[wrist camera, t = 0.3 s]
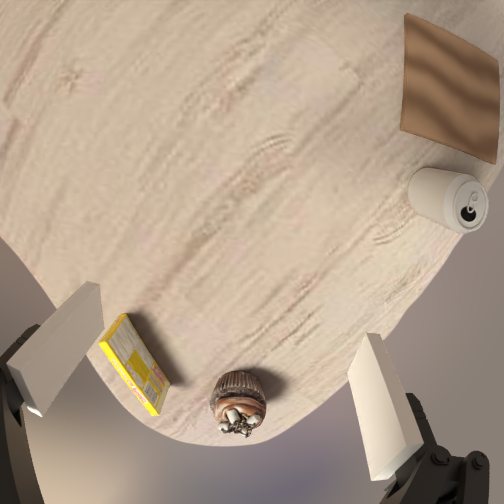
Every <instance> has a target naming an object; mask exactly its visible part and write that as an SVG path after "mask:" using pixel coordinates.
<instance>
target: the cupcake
mask: <svg viewBox="0 0 504 504" xmlns="http://www.w3.org/2000/svg"><path fill="white" fill-rule="evenodd" d="M209 403H210V404H209V405H210V408H211V410H212V411H213V413H214V417H215V419H216V421H217V422H218V423H219V425H218V429H219V430H220V431H223V432H224V433H230V432H233V431H234V433H241V435H242V436H245V438H247V437H249V436H250V434H251V431H252V429H255V428H257V427H258V426H260V425H261V423H262V422H263V420H264V418H265V414H266V399H265V396H264V394H263V391H262V388H261V384H260V382H259V380H258V379H257V378H256V377H255V376H254V375H252V374H250V373H248V372H243V371H231V372H228V373H225V374H224V375H222V376H221V378H219V380H218V382H217V384H216V387H215V389H214V391H213V393H212V395H211V397H210V402H209Z"/></svg>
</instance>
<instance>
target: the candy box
mask: <svg viewBox="0 0 504 504" xmlns="http://www.w3.org/2000/svg"><path fill="white" fill-rule="evenodd" d="M98 344H99V345H100V347H101V348H102V350H103V351H104V353H105V354H106V355H107V357H108V358H109V360H110V361H111V363H112V364H113V366H114V367H115V368H116V370H117V371H118V372H119V374H120V375H121V377H122V378H123V379H124V381H125V382H126V383H127V385H128V386H129V387H130V389H131V390H132V391H133V393H134V394H135V395H136V396H137V398H138V399H139V400H140V401H141V403H142V404H143V405H144V406H145V408H146V409H147V410H148V411H149V413H150V414H151V415H152V416H154V415H160V412H161V409H162V406H163V403H164V400H165V397H166V394H167V392H168V389H169V386H170V382H169V381H168V379H167V378H166V377H165V375H164V374H163V372H162V371H161V369H160V368H159V366H158V365H157V363H156V362H155V360H154V359H153V357H152V355H151V354H150V352H149V351H148V349H147V348H146V346H145V344H144V343H143V341H142V339H141V338H140V336H139V335H138V333H137V331H136V330H135V328H134V326H133V324H132V323H131V321H130V319H129V318H128V316H127V314H123V315H120V316H118V318H117V319H116V320H115V322H114V323H113V324H112V326H111V327H110V328H109V330H108V331H107V332H106V334H105V335H104V336H103V338H102V339H101V340H100V342H99V343H98Z"/></svg>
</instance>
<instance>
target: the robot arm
mask: <svg viewBox="0 0 504 504" xmlns="http://www.w3.org/2000/svg"><path fill="white" fill-rule="evenodd" d="M103 330H104V322H103V314H102V305H101V295H100V284H96V283H93V282H89V281H87V282H86V283H85V284H83V285H82V286H81V287H80V288H79V289H78V290H77V291H76V292H75V293H74V294H73V295H72V296H71V297H70V298H69V299H68V300H67V301H65V302H64V303H63V304H62V305H61V306H60V307H59V308H58V309H57V310H56V311H55V312H54V313H53V314H52V315H51V316H50V317H49V318H48V319H47V320H46V321H45V322H44V323H43V324H42V325H41V326H40V325H38V324H36V325H34V326H32V327H30V328H28V329H27V330H26V331H25V332H24V333H23V334H22V335H21V337H19V338H18V339H17V340H16V342H14V343H13V344H12V345H11V346H10V348H8V349H7V350H6V352H5V353H4V354H3V355H2V356H1V357H0V504H44V500H43V497H42V494H41V491H40V488H39V485H38V482H37V478H36V474H35V470H34V466H33V462H32V458H31V454H30V449H29V445H28V440H27V435H26V429H25V423H24V416H23V411H22V408H21V405H22V403H23V402H25V404H26V406H27V407H28V409H29V410H30V411H32V412H34V413H35V414H37V415H39V416H41V417H43V415H44V414H45V412H46V410H47V409H48V407H49V406H50V405H51V403H52V402H53V400H54V398H55V397H56V395H57V394H58V393H59V391H60V390H61V388H62V387H63V385H64V384H65V382H66V381H67V379H68V378H69V377H70V375H71V373H72V372H73V371H74V369H75V368H76V366H77V365H78V363H79V362H80V361H81V359H82V358H83V357H84V355H85V354H86V353H87V351H88V350H89V349H90V347H91V346H92V344H93V343H94V342H95V340H96V339H97V338H98V336H99V335H100V334H101V332H102V331H103ZM347 374H348V378H349V382H350V386H351V390H352V394H353V398H354V403H355V407H356V411H357V415H358V420H359V424H360V429H361V433H362V438H363V442H364V447H365V452H366V456H367V462H368V467H369V471H370V477H371V481H375V480H384V479H388V478H389V477H390V476H391V475H393V473H395V474H396V478H397V479H396V480H395V481H393V482H392V483H391V484H390V485H389V486H388V487H387V488H386V489H385V490H384V491H387V490H388V489H389V490H388V491H387V493H386V495H385V496H384V498H383V499H382V501H381V502H380V504H488V497H489V460H488V458H487V456H486V455H484V453H482V452H480V451H473V452H471V453H470V454H468V455H467V456H466V457H465V458H464V457H456V456H451V454H450V453H449V451H448V450H447V449H445V448H444V447H442V446H439V445H437V443H436V441H435V438H434V435H433V433H432V430H431V428H430V425H429V423H428V420H427V419H426V415H425V413H424V412H423V408H422V406H421V404H420V401H419V400H418V399H417V398H416V397H415V395H413V393H405V392H404V389H403V387H402V385H401V382H400V380H399V377H398V375H397V373H396V370H395V368H394V366H393V363H392V361H391V359H390V356H389V354H388V352H387V350H386V347H385V345H384V343H383V341H382V338H381V336H380V334H374V333H366V334H365V336H364V338H363V340H362V343H361V345H360V347H359V349H358V351H357V354H356V356H355V358H354V360H353V362H352V364H351V366H350V368H349V370H348V372H347Z"/></svg>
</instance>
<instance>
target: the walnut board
mask: <svg viewBox="0 0 504 504" xmlns="http://www.w3.org/2000/svg"><path fill="white" fill-rule="evenodd" d="M404 24H405V60H404V85H403V101H402V113H401V123H400V130H401V131H405V132H408V133H411V134H414V135H417V136H420V137H424V138H427V139H429V140H432V141H435V142H438V143H441V144H444V145H446V146H449V147H452V148H454V149H457V150H460V151H462V152H465V153H467V154H470V155H472V156H475V157H477V158H479V159H482V160H484V161H486V162H489V163H491V164H496V159H497V148H498V136H499V114H500V87H499V66H498V60H496V59H495V58H493V57H491V56H490V55H488V54H487V53H485V52H484V51H482V50H480V49H479V48H477V47H475V46H474V45H472V44H470V43H468V42H467V41H465V40H463V39H461V38H460V37H458V36H456V35H454V34H452V33H450V32H448V31H446V30H444V29H442V28H440V27H438V26H436V25H434V24H432V23H430V22H427V21H425V20H423V19H421V18H418V17H416V16H414V15H411V14H409V13H407V14H406V15H404Z"/></svg>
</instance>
